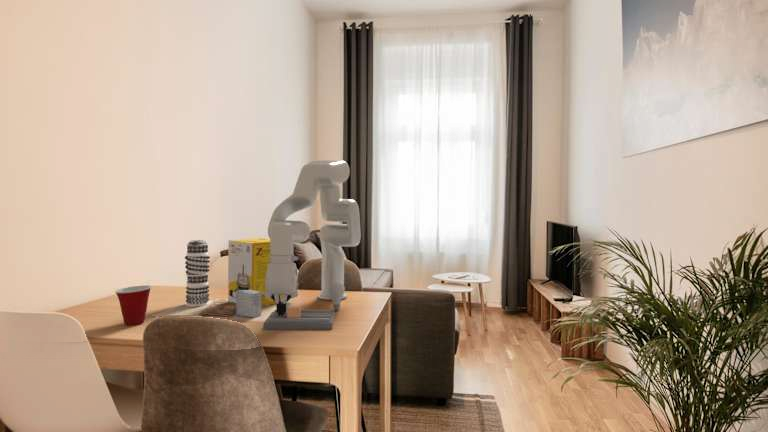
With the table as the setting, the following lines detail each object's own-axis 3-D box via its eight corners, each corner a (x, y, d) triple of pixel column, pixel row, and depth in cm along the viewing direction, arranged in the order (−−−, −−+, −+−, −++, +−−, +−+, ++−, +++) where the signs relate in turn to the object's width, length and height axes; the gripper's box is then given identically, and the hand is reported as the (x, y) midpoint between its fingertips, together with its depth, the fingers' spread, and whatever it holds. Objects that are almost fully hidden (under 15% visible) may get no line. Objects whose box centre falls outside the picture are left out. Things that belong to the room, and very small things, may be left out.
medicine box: (261, 315, 165) (261, 291, 165) (253, 318, 161) (253, 293, 161) (244, 312, 168) (244, 289, 168) (235, 315, 164) (235, 291, 164)
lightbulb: (341, 312, 171) (342, 283, 170) (326, 311, 172) (326, 282, 171) (346, 308, 177) (346, 280, 176) (331, 307, 178) (331, 279, 177)
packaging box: (228, 301, 186) (228, 240, 185) (262, 295, 198) (262, 238, 197) (251, 308, 175) (251, 243, 174) (285, 301, 187) (286, 240, 187)
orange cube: (288, 317, 153) (288, 305, 153) (300, 317, 154) (300, 305, 153) (287, 319, 150) (287, 307, 150) (299, 319, 151) (299, 307, 150)
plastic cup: (127, 318, 158) (126, 284, 157) (158, 319, 157) (158, 284, 157) (107, 327, 147) (106, 290, 146) (140, 328, 146) (140, 290, 146)
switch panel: (272, 317, 163) (272, 308, 163) (334, 317, 164) (334, 308, 164) (263, 329, 148) (263, 319, 148) (332, 329, 149) (332, 320, 149)
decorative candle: (189, 308, 174) (189, 242, 173) (181, 303, 181) (181, 240, 180) (213, 304, 180) (213, 241, 179) (204, 300, 187) (204, 239, 186)
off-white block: (279, 312, 160) (279, 300, 160) (291, 312, 160) (291, 300, 160) (278, 314, 157) (278, 302, 157) (290, 314, 157) (290, 302, 157)
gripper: (306, 258, 155) (305, 312, 156) (261, 257, 155) (261, 311, 155) (303, 261, 148) (302, 317, 148) (256, 260, 147) (255, 317, 148)
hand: (281, 314), depth 152 cm, fingers closed
